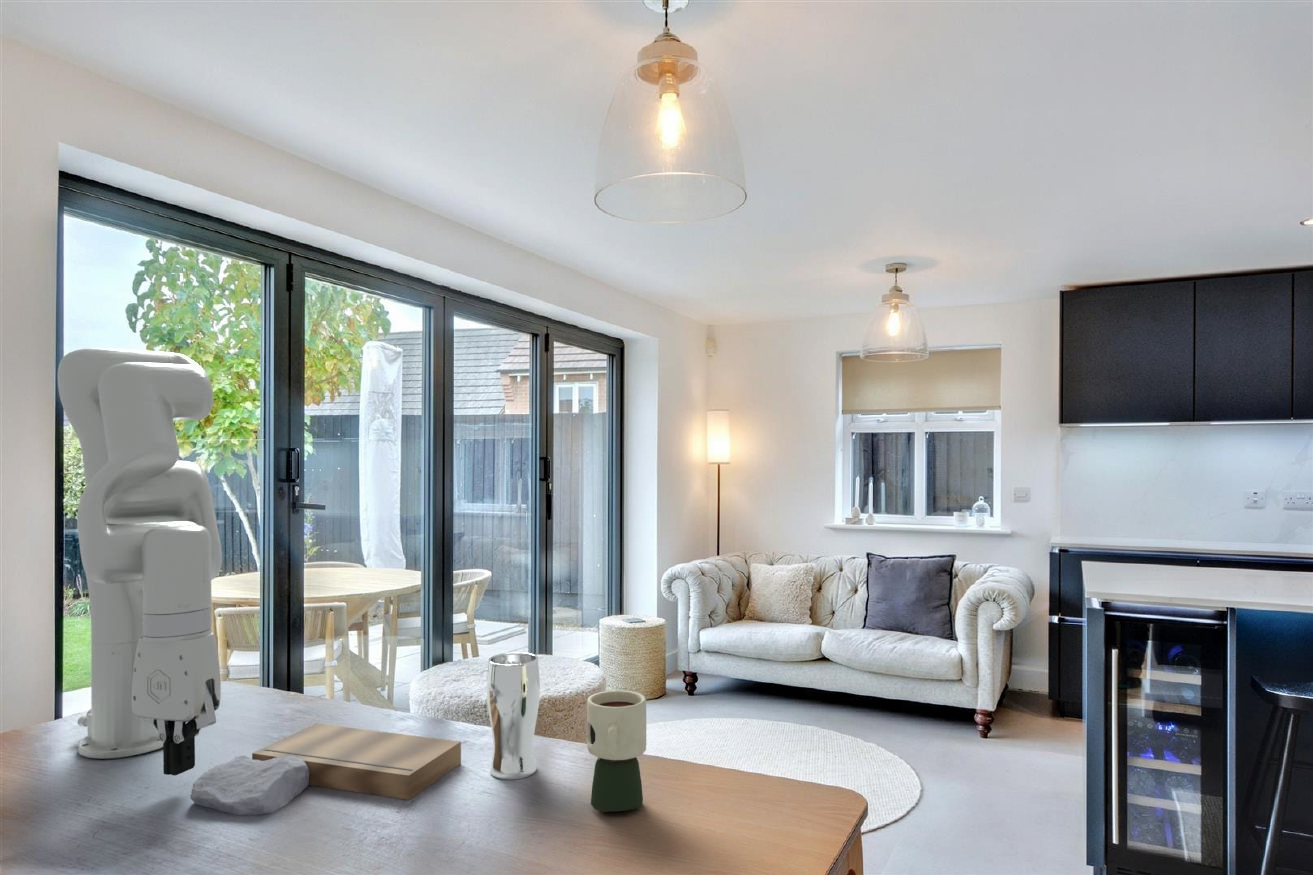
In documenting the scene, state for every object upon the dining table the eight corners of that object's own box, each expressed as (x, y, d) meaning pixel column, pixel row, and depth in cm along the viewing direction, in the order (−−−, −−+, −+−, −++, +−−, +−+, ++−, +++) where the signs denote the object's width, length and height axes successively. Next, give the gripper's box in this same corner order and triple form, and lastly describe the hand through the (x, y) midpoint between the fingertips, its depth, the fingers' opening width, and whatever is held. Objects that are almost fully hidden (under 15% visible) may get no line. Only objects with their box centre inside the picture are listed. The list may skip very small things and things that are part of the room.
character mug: (593, 787, 105) (593, 684, 105) (649, 788, 105) (649, 685, 105) (580, 827, 94) (580, 712, 94) (643, 828, 94) (642, 713, 94)
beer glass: (548, 764, 112) (548, 653, 113) (524, 784, 106) (524, 667, 106) (503, 757, 115) (503, 649, 115) (476, 777, 108) (476, 662, 108)
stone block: (271, 833, 97) (316, 782, 107) (265, 796, 96) (311, 748, 106) (180, 830, 99) (232, 780, 109) (172, 794, 98) (226, 747, 108)
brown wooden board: (252, 775, 109) (252, 752, 109) (316, 744, 120) (316, 722, 120) (408, 799, 101) (408, 774, 101) (460, 763, 113) (460, 740, 113)
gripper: (105, 627, 103) (106, 776, 102) (199, 632, 98) (201, 788, 98) (158, 616, 110) (160, 755, 110) (248, 620, 105) (250, 765, 105)
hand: (179, 770), depth 104 cm, fingers closed
